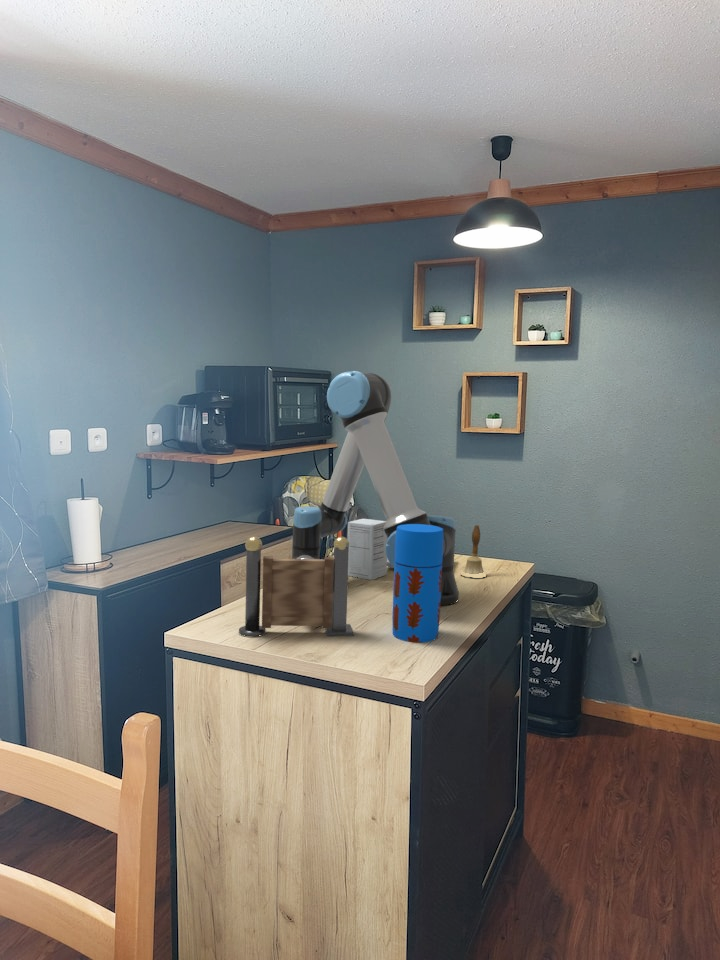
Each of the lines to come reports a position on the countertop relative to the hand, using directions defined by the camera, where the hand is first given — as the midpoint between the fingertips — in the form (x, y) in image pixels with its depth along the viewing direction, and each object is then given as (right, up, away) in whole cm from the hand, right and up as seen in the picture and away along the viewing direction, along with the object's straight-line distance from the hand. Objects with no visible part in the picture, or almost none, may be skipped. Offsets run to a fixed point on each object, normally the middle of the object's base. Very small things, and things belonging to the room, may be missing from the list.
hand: (304, 598), depth 164 cm
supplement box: (+15, -2, +56) cm, 58 cm away
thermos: (+26, -9, +1) cm, 27 cm away
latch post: (+8, -8, +2) cm, 11 cm away
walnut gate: (-2, -6, -1) cm, 7 cm away
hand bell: (+48, -3, +61) cm, 78 cm away
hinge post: (-12, -8, -1) cm, 14 cm away
